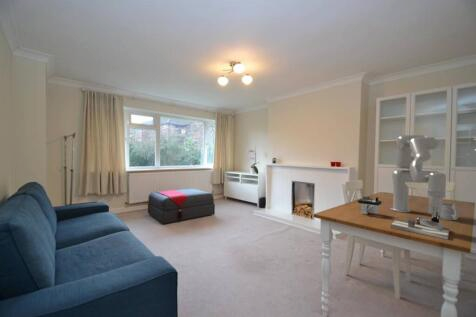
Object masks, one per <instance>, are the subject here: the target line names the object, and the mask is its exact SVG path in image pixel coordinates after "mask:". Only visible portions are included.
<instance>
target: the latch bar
mask: <svg viewBox="0 0 476 317" xmlns="http://www.w3.org/2000/svg"><path fill="white" fill-rule="evenodd" d="M416 222H417V224H421V225H424V226H427V227H431V228H434V229H438V230H443V226H444V224H443V223H441V222H439V223H438V222H435V221H431V219H427V218H424V217H421V216H418V217H416Z"/></svg>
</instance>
